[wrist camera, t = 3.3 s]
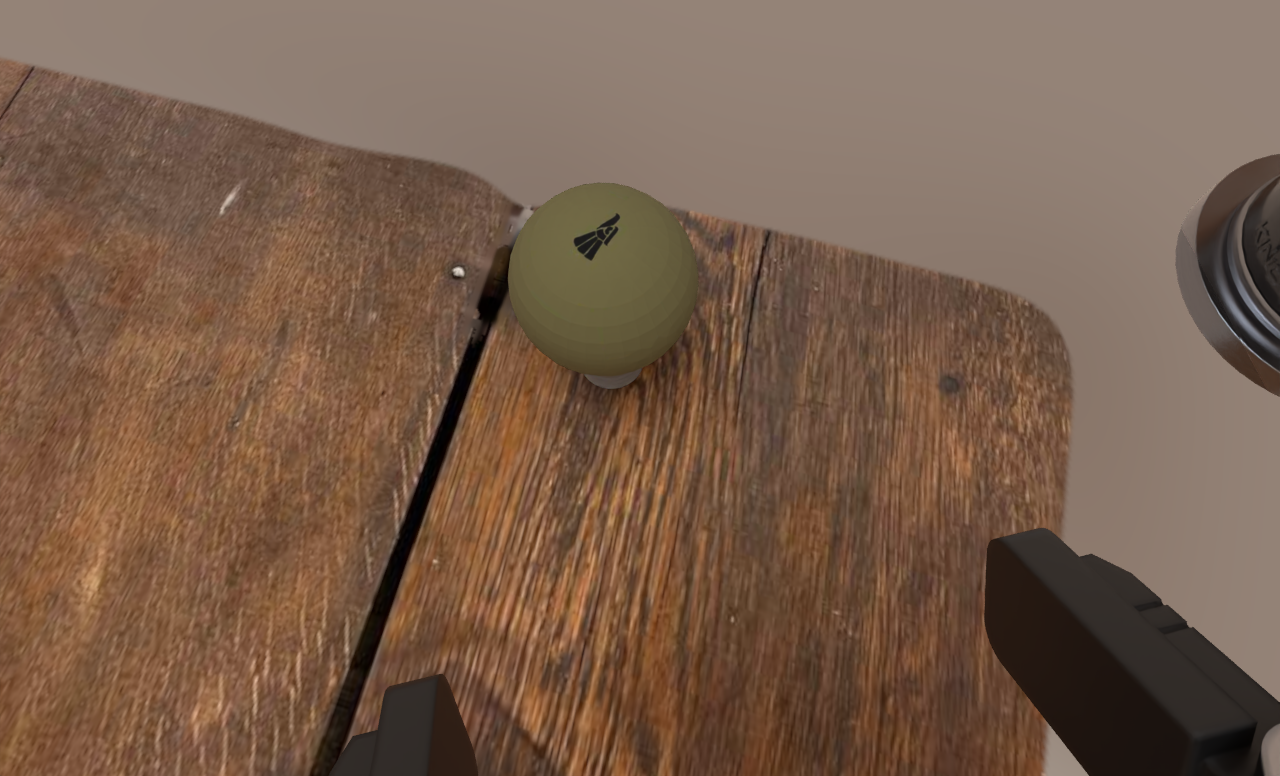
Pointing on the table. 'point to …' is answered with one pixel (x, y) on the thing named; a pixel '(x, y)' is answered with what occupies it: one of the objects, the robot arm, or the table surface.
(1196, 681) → the robot arm
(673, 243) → the light bulb
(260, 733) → the table surface
